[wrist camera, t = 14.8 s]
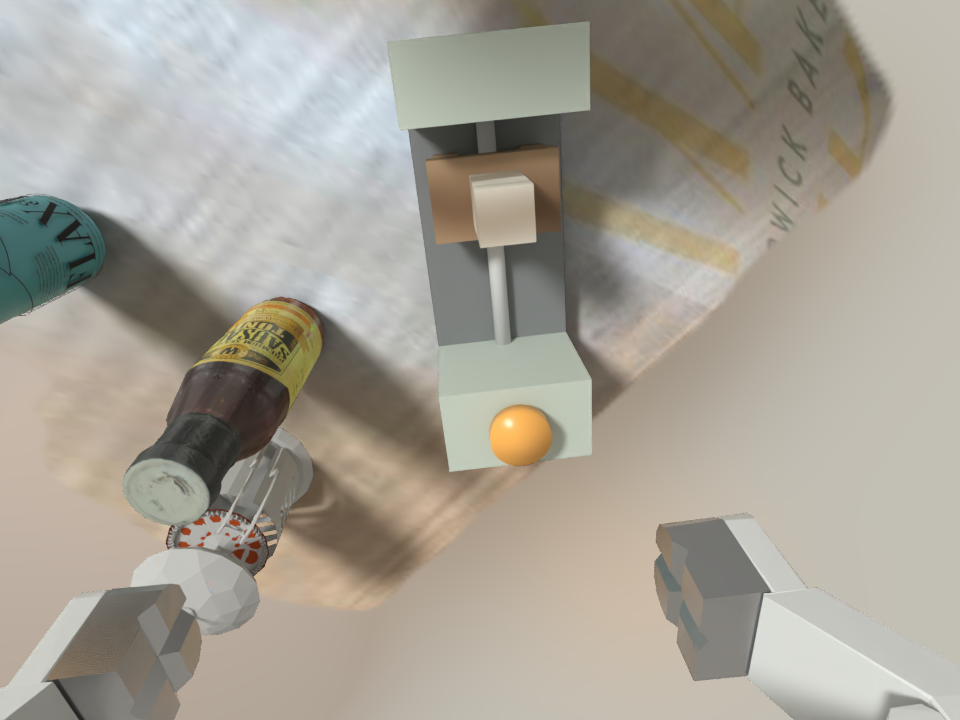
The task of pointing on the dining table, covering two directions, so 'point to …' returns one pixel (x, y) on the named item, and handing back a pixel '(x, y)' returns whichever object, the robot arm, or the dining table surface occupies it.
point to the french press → (232, 537)
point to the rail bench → (502, 269)
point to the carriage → (495, 195)
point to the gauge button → (520, 435)
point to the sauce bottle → (226, 410)
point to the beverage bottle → (44, 252)
